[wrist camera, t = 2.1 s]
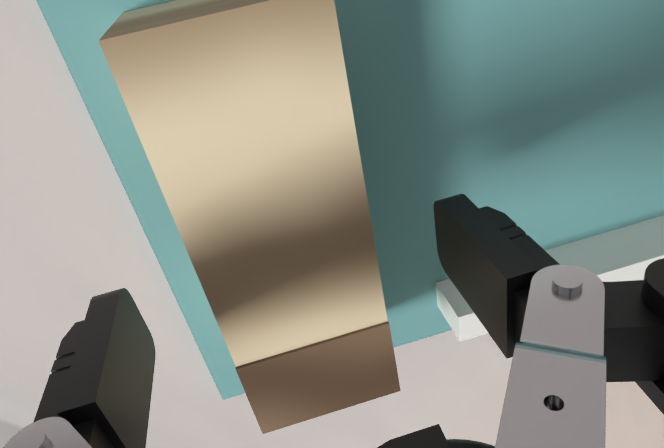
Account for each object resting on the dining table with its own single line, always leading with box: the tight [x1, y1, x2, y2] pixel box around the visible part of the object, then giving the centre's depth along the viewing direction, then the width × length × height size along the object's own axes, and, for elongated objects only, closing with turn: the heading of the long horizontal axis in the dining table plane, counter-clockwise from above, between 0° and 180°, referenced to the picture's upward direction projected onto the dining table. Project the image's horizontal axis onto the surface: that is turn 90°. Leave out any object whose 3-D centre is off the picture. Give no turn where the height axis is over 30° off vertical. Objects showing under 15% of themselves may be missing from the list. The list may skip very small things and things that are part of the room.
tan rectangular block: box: [99, 0, 400, 434], centre depth 14 cm, size 12×4×4 cm, turn 10°
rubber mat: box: [37, 0, 664, 400], centre depth 16 cm, size 16×20×1 cm
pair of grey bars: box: [436, 215, 664, 342], centre depth 16 cm, size 13×10×2 cm
